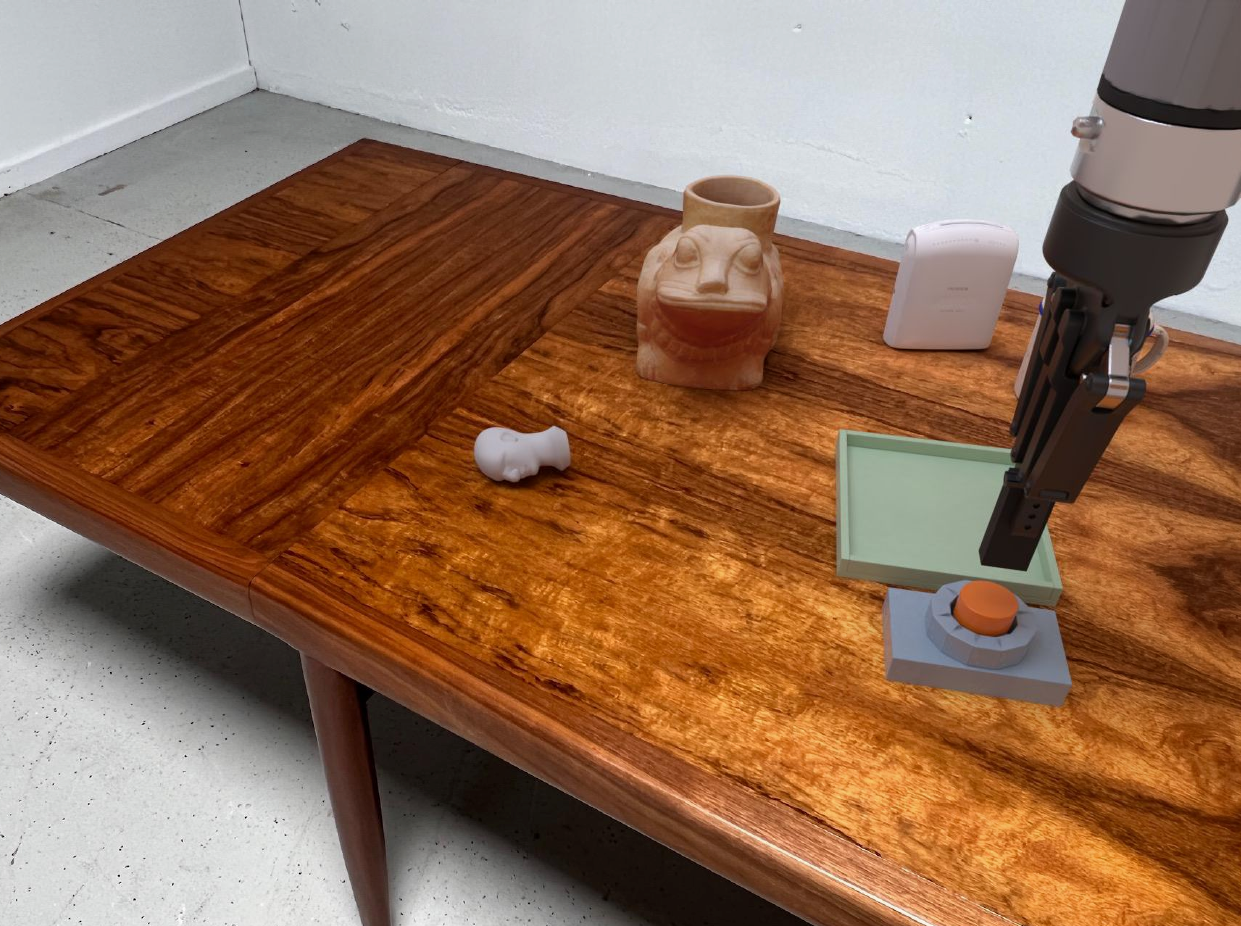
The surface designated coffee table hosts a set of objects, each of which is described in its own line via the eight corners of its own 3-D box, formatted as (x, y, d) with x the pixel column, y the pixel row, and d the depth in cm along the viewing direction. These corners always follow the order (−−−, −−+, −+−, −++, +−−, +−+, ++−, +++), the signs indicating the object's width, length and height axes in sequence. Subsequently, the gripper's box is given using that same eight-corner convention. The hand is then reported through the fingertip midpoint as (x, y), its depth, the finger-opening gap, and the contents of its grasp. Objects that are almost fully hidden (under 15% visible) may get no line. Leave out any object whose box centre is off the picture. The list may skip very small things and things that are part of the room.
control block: (1045, 633, 74) (1064, 590, 72) (1061, 708, 69) (1082, 665, 67) (881, 609, 76) (894, 567, 74) (885, 680, 71) (899, 637, 69)
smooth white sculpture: (472, 494, 89) (478, 445, 91) (569, 498, 88) (572, 448, 91) (468, 463, 85) (474, 413, 88) (568, 467, 84) (572, 416, 87)
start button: (1007, 603, 72) (1015, 584, 70) (1014, 641, 69) (1022, 621, 68) (951, 595, 72) (957, 576, 71) (955, 632, 69) (963, 613, 68)
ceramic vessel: (615, 405, 97) (626, 249, 87) (651, 277, 116) (663, 137, 107) (771, 423, 94) (800, 265, 85) (780, 289, 114) (805, 147, 104)
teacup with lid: (1036, 429, 94) (1082, 308, 86) (993, 375, 101) (1032, 259, 93) (1169, 423, 94) (1226, 303, 87) (1117, 370, 101) (1165, 254, 94)
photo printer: (886, 352, 104) (917, 230, 96) (876, 330, 107) (906, 210, 99) (994, 354, 104) (1034, 232, 96) (981, 332, 107) (1019, 212, 99)
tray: (1022, 468, 89) (1029, 451, 88) (1055, 607, 76) (1063, 588, 75) (835, 446, 92) (839, 428, 91) (836, 576, 79) (841, 558, 78)
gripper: (1045, 140, 58) (932, 491, 73) (1089, 241, 48) (948, 622, 63) (1196, 152, 56) (1049, 506, 71) (1273, 258, 47) (1084, 642, 62)
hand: (1002, 560), depth 67 cm, fingers closed
